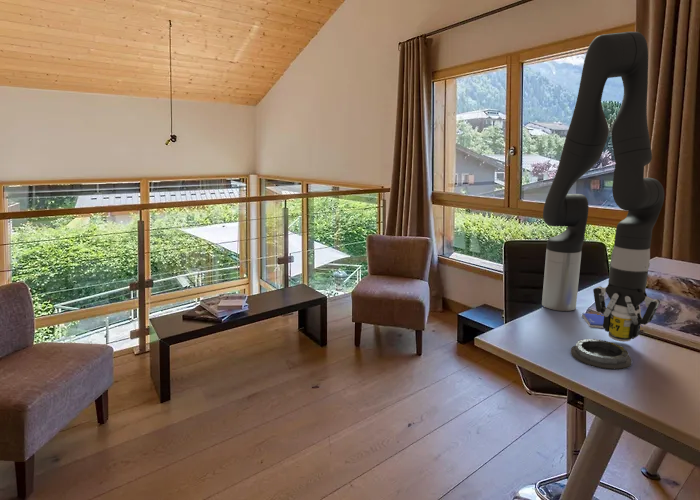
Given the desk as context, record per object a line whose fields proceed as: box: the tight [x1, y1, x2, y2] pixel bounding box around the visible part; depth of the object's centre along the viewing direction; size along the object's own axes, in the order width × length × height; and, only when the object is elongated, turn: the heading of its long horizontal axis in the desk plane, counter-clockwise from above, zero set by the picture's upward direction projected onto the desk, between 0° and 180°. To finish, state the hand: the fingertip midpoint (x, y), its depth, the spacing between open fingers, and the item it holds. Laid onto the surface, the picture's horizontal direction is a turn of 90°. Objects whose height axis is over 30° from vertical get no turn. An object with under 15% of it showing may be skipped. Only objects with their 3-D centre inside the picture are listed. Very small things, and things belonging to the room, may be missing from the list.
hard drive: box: [581, 312, 604, 329], centre depth 120 cm, size 2×8×12 cm
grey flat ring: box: [570, 338, 633, 371], centre depth 101 cm, size 12×12×2 cm
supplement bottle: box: [608, 304, 632, 343], centre depth 107 cm, size 5×5×8 cm
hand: (620, 334), depth 107 cm, fingers closed on supplement bottle, 4 cm apart
